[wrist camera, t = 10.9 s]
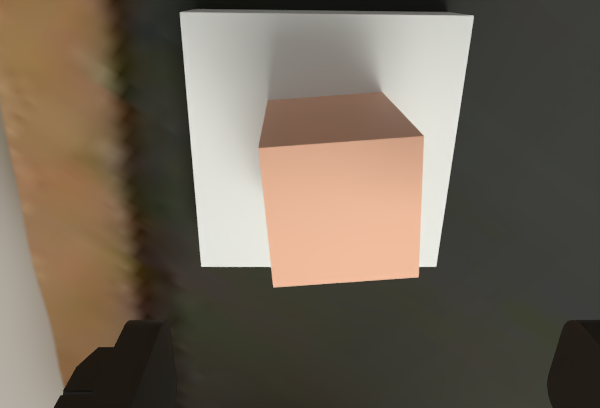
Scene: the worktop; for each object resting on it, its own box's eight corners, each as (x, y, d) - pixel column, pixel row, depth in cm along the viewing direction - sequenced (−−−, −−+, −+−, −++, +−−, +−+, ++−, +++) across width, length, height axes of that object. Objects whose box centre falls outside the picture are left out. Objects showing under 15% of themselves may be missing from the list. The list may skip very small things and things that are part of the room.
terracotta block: (267, 100, 21) (258, 148, 14) (382, 91, 21) (424, 136, 14) (277, 204, 23) (273, 287, 16) (381, 197, 23) (418, 277, 16)
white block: (197, 8, 23) (179, 12, 19) (444, 11, 23) (473, 15, 19) (213, 230, 28) (201, 266, 24) (417, 230, 28) (436, 266, 24)
